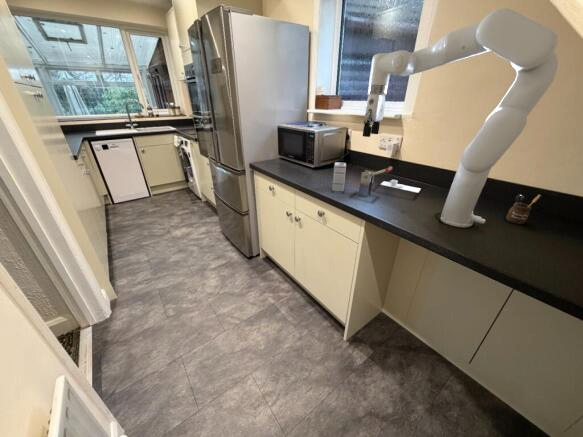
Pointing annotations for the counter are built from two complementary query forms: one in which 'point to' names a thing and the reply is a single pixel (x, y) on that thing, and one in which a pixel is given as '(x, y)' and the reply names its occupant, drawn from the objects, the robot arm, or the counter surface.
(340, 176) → the syrup box
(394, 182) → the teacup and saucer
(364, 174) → the bracket
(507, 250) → the counter surface
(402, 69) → the robot arm
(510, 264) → the counter surface
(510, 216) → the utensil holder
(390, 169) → the lever
